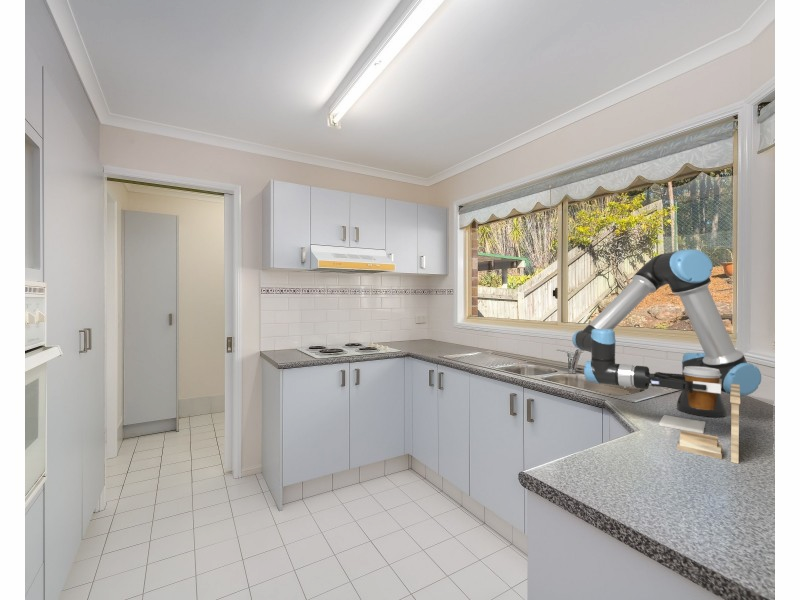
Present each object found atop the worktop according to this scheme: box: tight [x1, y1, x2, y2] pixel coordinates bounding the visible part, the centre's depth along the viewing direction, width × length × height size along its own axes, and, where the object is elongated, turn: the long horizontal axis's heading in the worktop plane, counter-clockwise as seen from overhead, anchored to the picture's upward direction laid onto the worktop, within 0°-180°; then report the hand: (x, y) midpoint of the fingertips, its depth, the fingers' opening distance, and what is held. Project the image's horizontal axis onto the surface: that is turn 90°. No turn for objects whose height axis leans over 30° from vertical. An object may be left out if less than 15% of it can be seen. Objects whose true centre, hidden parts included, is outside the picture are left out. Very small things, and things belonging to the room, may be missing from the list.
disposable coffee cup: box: [683, 366, 722, 410], centre depth 119 cm, size 10×10×12 cm
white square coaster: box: [658, 414, 706, 434], centre depth 134 cm, size 12×12×1 cm
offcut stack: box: [676, 430, 724, 460], centre depth 110 cm, size 6×10×5 cm, turn 48°
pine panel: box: [729, 383, 741, 465], centre depth 112 cm, size 25×2×17 cm, turn 139°
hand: (721, 386), depth 116 cm, fingers closed on disposable coffee cup, 8 cm apart
